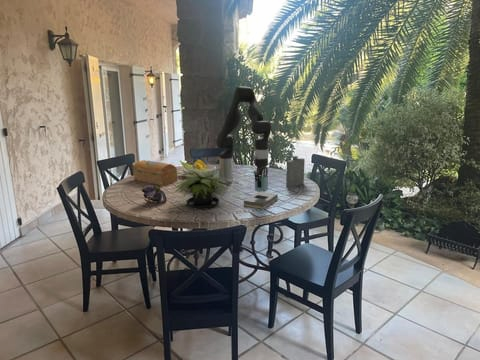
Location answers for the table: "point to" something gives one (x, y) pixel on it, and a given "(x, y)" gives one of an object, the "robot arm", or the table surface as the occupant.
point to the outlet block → (260, 200)
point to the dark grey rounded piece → (153, 193)
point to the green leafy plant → (192, 173)
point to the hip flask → (295, 172)
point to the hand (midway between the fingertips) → (261, 186)
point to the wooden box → (155, 172)
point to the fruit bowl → (198, 167)
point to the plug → (262, 184)
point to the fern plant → (202, 189)
